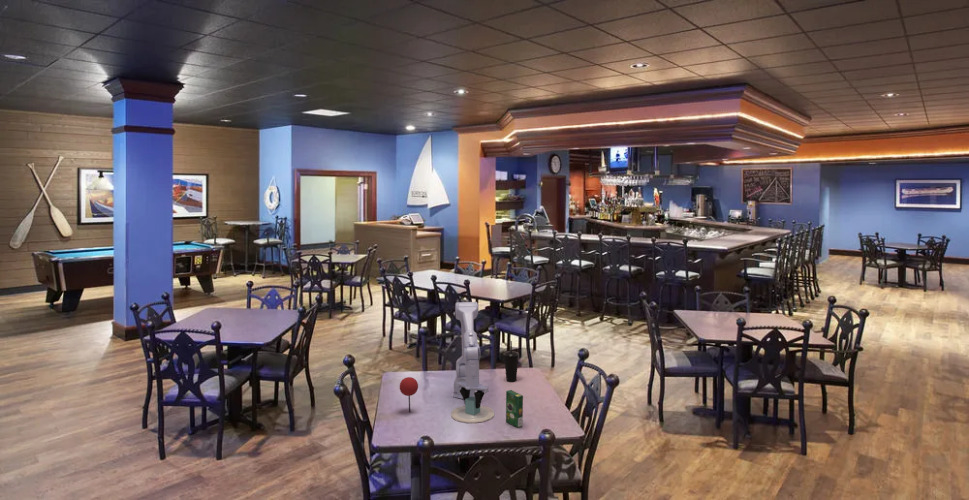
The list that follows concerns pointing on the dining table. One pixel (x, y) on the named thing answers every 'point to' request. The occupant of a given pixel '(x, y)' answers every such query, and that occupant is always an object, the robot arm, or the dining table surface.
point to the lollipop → (408, 387)
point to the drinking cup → (511, 364)
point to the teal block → (471, 406)
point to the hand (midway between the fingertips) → (472, 406)
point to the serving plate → (482, 416)
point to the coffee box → (514, 408)
